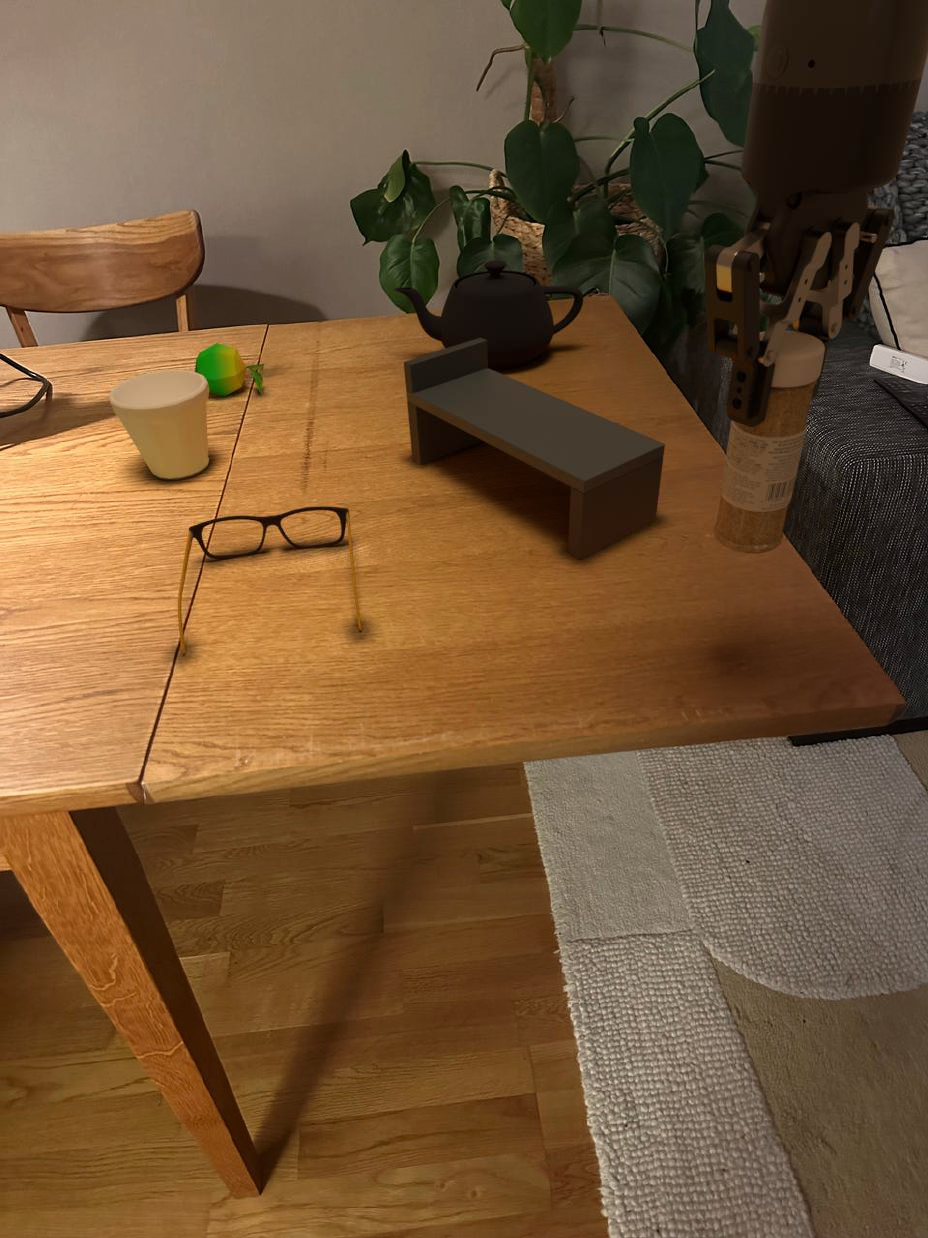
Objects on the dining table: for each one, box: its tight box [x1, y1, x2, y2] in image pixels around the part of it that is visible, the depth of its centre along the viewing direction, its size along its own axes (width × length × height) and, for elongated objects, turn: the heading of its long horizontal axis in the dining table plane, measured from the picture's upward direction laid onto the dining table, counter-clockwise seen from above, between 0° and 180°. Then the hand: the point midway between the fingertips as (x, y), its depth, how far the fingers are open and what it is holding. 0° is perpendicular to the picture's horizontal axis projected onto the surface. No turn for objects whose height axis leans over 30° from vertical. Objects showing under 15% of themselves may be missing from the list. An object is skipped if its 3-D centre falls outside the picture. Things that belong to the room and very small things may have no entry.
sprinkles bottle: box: [713, 330, 825, 555], centre depth 51 cm, size 5×5×13 cm
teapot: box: [393, 259, 584, 370], centre depth 108 cm, size 25×16×12 cm, turn 93°
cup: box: [107, 369, 210, 481], centre depth 86 cm, size 10×10×9 cm
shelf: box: [403, 338, 666, 561], centre depth 79 cm, size 26×10×11 cm, turn 38°
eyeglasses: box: [177, 505, 362, 654], centre depth 69 cm, size 14×14×4 cm
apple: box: [194, 342, 265, 397], centre depth 104 cm, size 7×6×9 cm
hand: (771, 407), depth 49 cm, fingers closed on sprinkles bottle, 4 cm apart
